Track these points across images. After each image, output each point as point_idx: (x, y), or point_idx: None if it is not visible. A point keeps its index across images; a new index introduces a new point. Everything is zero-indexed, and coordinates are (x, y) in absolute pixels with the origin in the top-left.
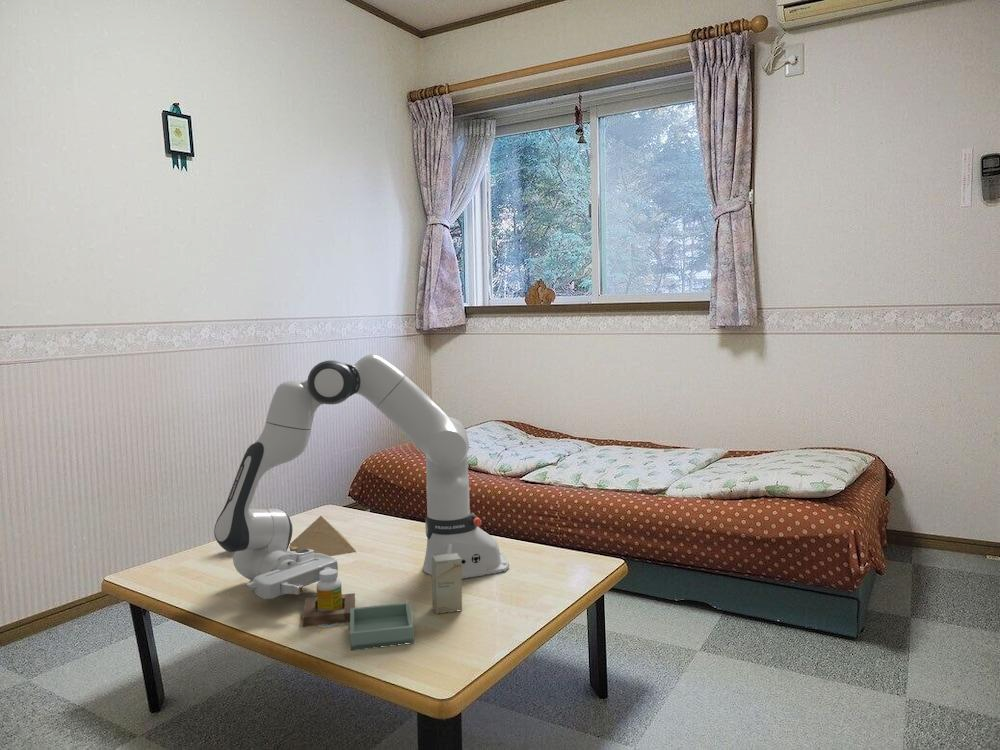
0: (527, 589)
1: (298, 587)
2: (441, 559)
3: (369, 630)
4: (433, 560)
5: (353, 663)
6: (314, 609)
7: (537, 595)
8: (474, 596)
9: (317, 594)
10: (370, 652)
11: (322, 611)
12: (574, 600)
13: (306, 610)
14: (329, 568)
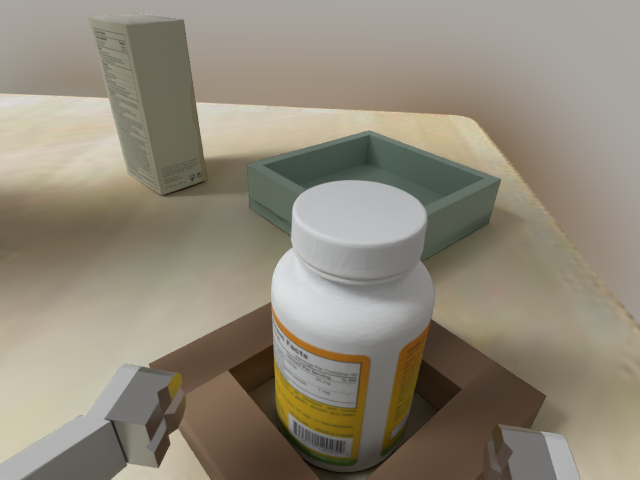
0: (22, 129)
1: (543, 432)
2: (162, 18)
3: (449, 163)
4: (162, 27)
5: (518, 199)
6: (438, 411)
7: (61, 118)
8: (69, 166)
9: (421, 353)
10: None
11: (425, 360)
12: (87, 97)
13: (482, 442)
14: (10, 473)
